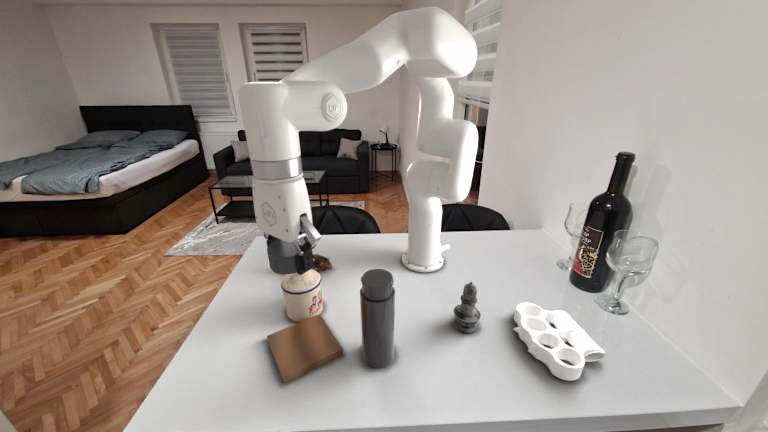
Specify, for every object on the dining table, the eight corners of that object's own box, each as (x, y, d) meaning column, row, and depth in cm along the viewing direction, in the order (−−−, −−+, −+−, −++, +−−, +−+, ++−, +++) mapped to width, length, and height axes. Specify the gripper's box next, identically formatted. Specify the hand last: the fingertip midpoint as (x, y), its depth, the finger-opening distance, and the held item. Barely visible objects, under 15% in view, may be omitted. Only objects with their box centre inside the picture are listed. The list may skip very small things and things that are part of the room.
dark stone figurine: (479, 319, 71) (486, 276, 66) (477, 337, 66) (485, 293, 61) (453, 313, 73) (458, 271, 68) (450, 330, 68) (455, 287, 63)
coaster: (320, 318, 71) (319, 313, 70) (343, 354, 62) (342, 348, 61) (267, 340, 65) (266, 335, 64) (284, 383, 56) (283, 378, 55)
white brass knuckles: (616, 375, 57) (543, 384, 56) (555, 310, 74) (498, 315, 72) (621, 363, 56) (547, 371, 54) (558, 299, 72) (500, 304, 71)
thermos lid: (287, 279, 50) (284, 262, 49) (261, 264, 54) (258, 248, 53) (320, 260, 55) (318, 243, 54) (294, 247, 59) (292, 232, 58)
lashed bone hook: (335, 259, 95) (277, 260, 94) (334, 246, 94) (275, 246, 93) (331, 276, 87) (267, 276, 86) (330, 262, 85) (265, 262, 84)
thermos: (382, 337, 66) (382, 263, 58) (400, 358, 61) (402, 280, 53) (356, 351, 63) (352, 274, 55) (373, 373, 58) (371, 293, 50)
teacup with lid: (317, 325, 69) (312, 283, 64) (279, 322, 70) (271, 280, 65) (331, 291, 80) (328, 254, 75) (298, 289, 81) (293, 252, 76)
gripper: (225, 164, 50) (245, 256, 57) (293, 183, 40) (306, 292, 47) (266, 156, 55) (279, 241, 62) (333, 171, 46) (340, 270, 53)
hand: (291, 262), depth 55 cm, fingers closed on thermos lid, 7 cm apart
